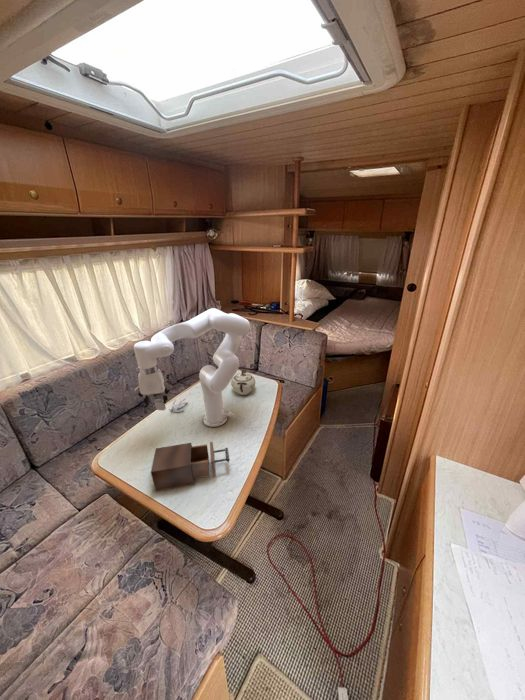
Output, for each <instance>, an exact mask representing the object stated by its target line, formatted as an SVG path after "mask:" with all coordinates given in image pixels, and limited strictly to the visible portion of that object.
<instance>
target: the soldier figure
mask: <svg viewBox="0 0 525 700" xmlns="http://www.w3.org/2000/svg"><path fill="white" fill-rule="evenodd" d="M177 401H178V400H177V399H175V400H174V401H173V402H172V404H171V408H169V409H168V412H170V413H172V412H175V413H181V412H184V411H185V410H184V409H182V408H183V407H185V406H186V405H187V404H189V403H188V402H189V401H186V398H182V399H181V400H179V402H178V403H177V404H175V403H176V402H177ZM184 401H186V402H184ZM183 402H184V403H183ZM182 403H183V404H182Z"/></svg>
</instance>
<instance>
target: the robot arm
mask: <svg viewBox="0 0 525 700" xmlns="http://www.w3.org/2000/svg"><path fill="white" fill-rule="evenodd" d="M212 329H214V330H216V331H219V332H220V333H225V335H224V338H223V340H222V342H221V343H220V345H219V346H218V348H217V349H216V351H215V352H214V353H213V356H212V361H213V363H214V364H215V366H217V367H215V366H214V365H211V364H207V365H204V366H203V367H202V368H200V371H199V373H198V375H199V376H198V377H199V382H200V386H201V390H202V399H203V403H204V404H203V405H204V411H205V415H204V416H203V419H202V420H203V423H204V425H206V426H207V427H211V428H216V427H219V426H222V425H223V424H225V423H226V422H227V420H228V417H232V416H233V415H234V413H233V412H232V411H231V410H225V408H224V401H223V391H224V390H225V389H226V388H227V387H228V385H229V384H230V383H231V381H232V379H233V378H234V377H235V376H236V373H237V371H238V370H239V368H240V359H239V357H238V356H237V355H236V353H237V351H238V349H239V348H240V346H241V343H242V340H243V336H246V335H247V334H249V332H250V330H251V323H250V322H249V320H248V319H247V318H245V317H243V316H240V315H239V314H237V313H233V312H230V313H226V312H225V311H222V310H220V309H218V308H215V307H211V308H208V309H206V310H204V311H203V312H201V313H199V314H198V315H196V316H194V317H192V318H191V319H188V320H186V321H183V322H180V323H177V324H176V323H175V324H172V325H171V326H167V327H165V328H163V329H162V330H160V331H158V332H156V333H155V334H153V336H152V337H151V339H150V340H140V341H138V342H136V343H134V345H133V351H134V355H135V359H136V363H137V367H135V371H136V372H138V374H137V378H138V379H137V380H138V386H137V387H135V389H134V390H133V392H134V393H135V394H136V395H138V397H140V398H141V399H142V400H143V401H144V402H143V403H144V404H145V405H146V407H149V405H150V399H149V398H148V396H147V395H149V394H152V395H155V394H162V400H164V403H165V405H166V404H167V402H168V401H169V398H168V394H169V392H170V391H171V389H172V388H173V385H172V384H171V383H169V382H166V381H165V379H164V375H163V372H162V371H161V369H160V368H159V365H158V361H157V358H166V357H169V356H171V355H172V354H173V353H174V351H175V346H174V343H173V342H176V341H179V340H182V339H197V338H198V337H201V336H202V335H205V333H207V332H209V331H211V330H212Z"/></svg>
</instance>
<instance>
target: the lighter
mask: <svg viewBox="0 0 525 700" xmlns="http://www.w3.org/2000/svg"><path fill="white" fill-rule="evenodd" d="M147 396H148V398H149V402H151V404H152V403H154V406H155V410H156V411H165V410H166V409H167V408H166V404H165V403H164V400H163V399H161V398H157V399H156V397H155V396H154V394H149V395H147Z"/></svg>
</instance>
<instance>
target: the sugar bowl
mask: <svg viewBox="0 0 525 700" xmlns="http://www.w3.org/2000/svg"><path fill="white" fill-rule="evenodd" d="M240 371H241V373H237V374H235V375H234V376H233V378H232V379H231V381H230V385H231V387H232V389H233V390H234V392H236V393H237V394H238V395H241V396H246V395H249V394H250V393H251V391H252V390H253V389H254V388H255V386H256V379H255V378H254V376H253V375H251V374H250V373H247V371H246V370H244V369H241V370H240Z"/></svg>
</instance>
